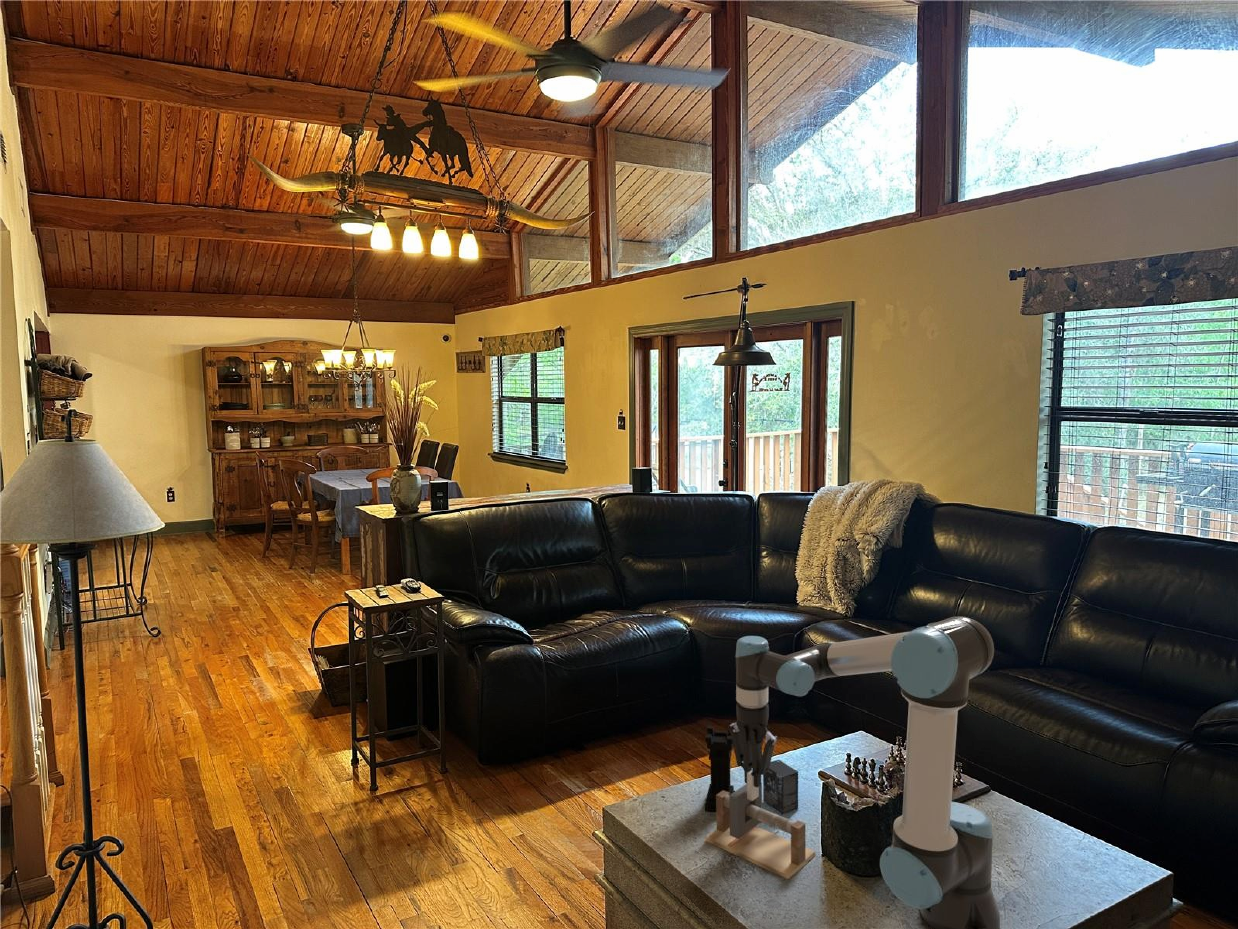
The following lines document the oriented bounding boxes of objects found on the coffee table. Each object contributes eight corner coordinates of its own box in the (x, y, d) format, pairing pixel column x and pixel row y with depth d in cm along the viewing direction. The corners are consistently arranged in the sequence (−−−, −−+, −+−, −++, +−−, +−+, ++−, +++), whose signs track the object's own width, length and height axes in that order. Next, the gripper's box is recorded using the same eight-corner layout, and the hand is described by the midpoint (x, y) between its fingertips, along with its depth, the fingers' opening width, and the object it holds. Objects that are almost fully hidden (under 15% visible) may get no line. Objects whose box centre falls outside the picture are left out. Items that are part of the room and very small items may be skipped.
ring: (761, 821, 193) (761, 782, 192) (738, 839, 186) (738, 798, 185) (753, 818, 195) (753, 779, 194) (729, 835, 188) (729, 795, 187)
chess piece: (735, 814, 204) (734, 740, 202) (704, 811, 205) (703, 738, 203) (737, 798, 211) (736, 726, 210) (707, 796, 213) (706, 725, 211)
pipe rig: (815, 855, 185) (815, 814, 184) (788, 879, 176) (788, 836, 175) (734, 820, 201) (733, 782, 200) (705, 841, 192) (705, 801, 191)
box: (762, 802, 209) (762, 763, 208) (779, 796, 212) (779, 758, 211) (781, 815, 203) (781, 776, 202) (799, 810, 205) (798, 771, 204)
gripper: (784, 704, 185) (784, 801, 187) (738, 691, 193) (739, 783, 196) (767, 714, 179) (767, 813, 181) (720, 700, 188) (721, 794, 190)
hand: (752, 797), depth 189 cm, fingers closed
